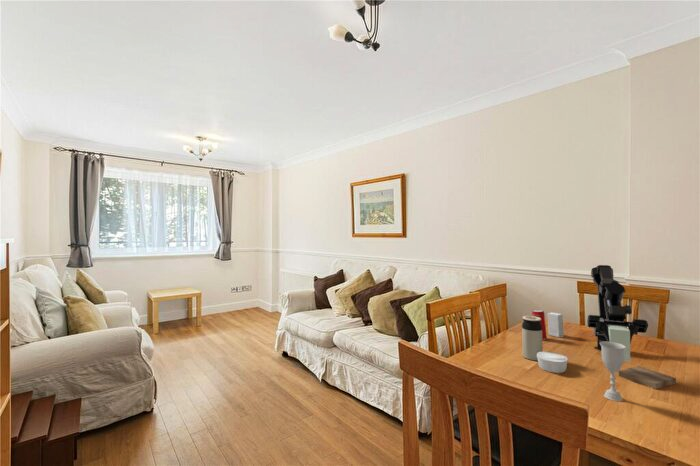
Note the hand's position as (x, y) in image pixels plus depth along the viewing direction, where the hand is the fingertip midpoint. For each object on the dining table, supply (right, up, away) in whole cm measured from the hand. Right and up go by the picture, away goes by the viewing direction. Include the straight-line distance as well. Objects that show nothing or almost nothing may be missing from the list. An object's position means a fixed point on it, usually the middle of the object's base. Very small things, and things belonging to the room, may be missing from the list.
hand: (619, 342), depth 129 cm
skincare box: (+7, -14, +52) cm, 54 cm away
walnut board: (+9, -13, -2) cm, 16 cm away
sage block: (+1, -7, +1) cm, 7 cm away
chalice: (-14, -14, -15) cm, 25 cm away
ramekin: (-20, -14, +9) cm, 26 cm away
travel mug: (-22, -14, +22) cm, 34 cm away
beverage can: (-4, -14, +48) cm, 50 cm away
